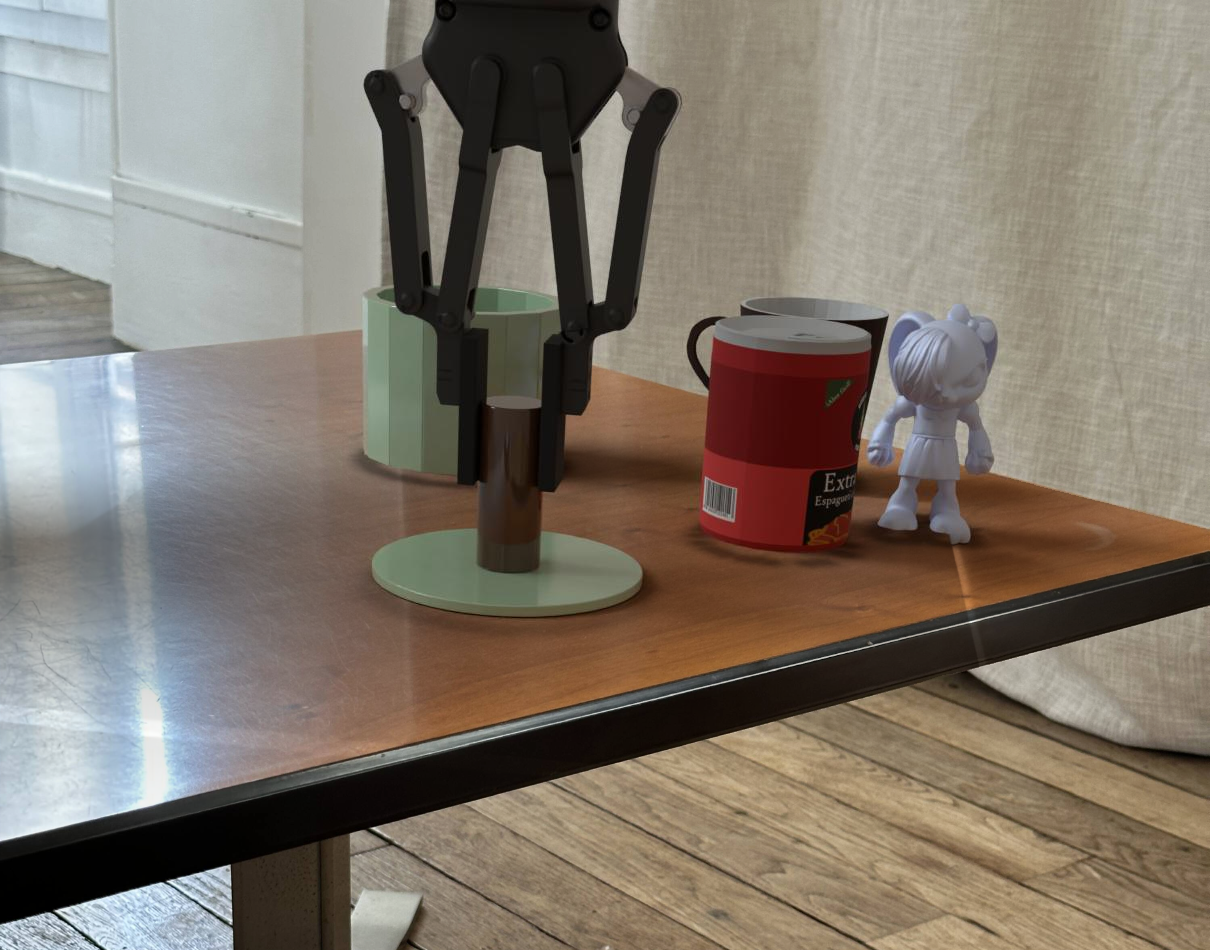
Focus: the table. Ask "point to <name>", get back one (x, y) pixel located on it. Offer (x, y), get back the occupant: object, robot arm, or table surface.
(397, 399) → the canister
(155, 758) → the table surface
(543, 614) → the lid
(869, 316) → the coffee mug
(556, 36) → the robot arm
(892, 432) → the toy figurine
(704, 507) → the canned food
